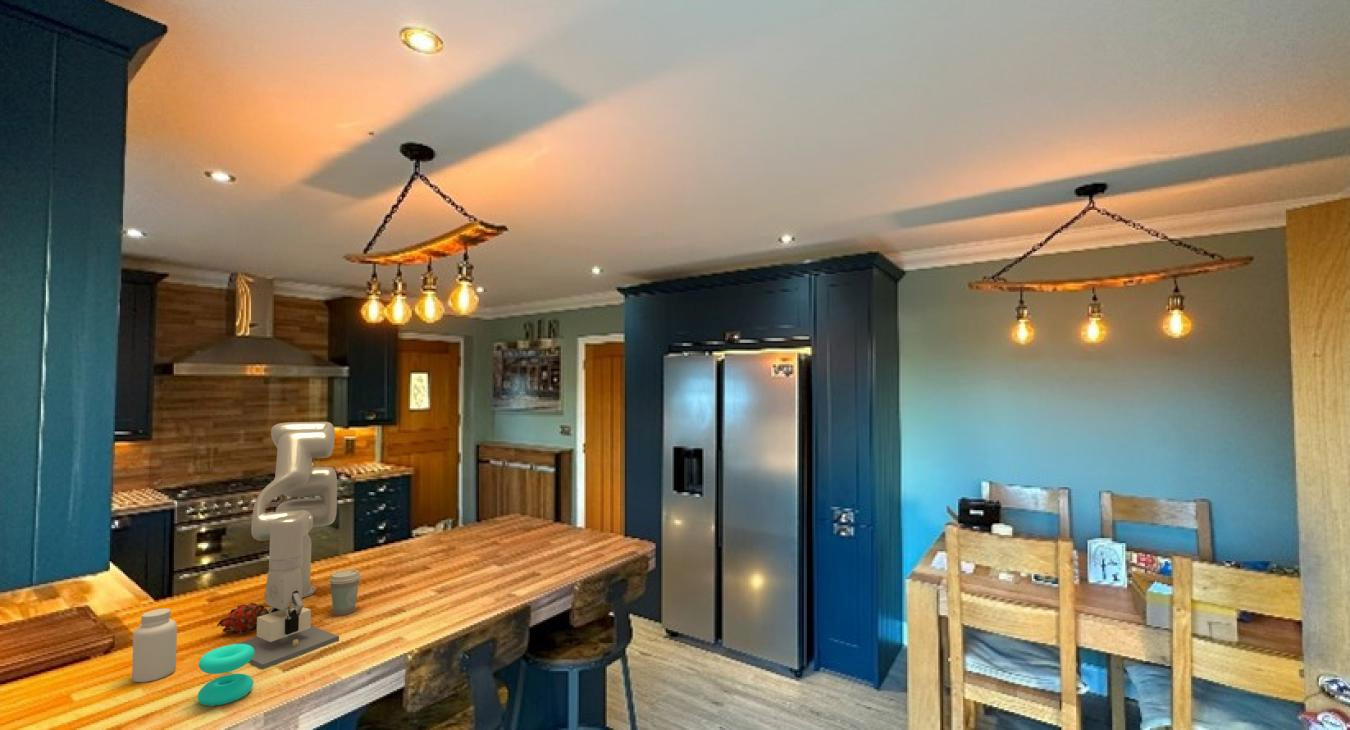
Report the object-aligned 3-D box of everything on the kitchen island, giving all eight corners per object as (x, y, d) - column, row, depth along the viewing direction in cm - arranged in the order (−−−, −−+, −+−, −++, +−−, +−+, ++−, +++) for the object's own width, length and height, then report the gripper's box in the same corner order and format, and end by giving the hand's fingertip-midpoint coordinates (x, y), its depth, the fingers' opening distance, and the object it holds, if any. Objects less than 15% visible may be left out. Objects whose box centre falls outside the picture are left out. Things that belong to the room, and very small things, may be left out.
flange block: (270, 642, 150) (271, 622, 150) (256, 636, 154) (257, 617, 154) (310, 628, 159) (310, 609, 159) (296, 622, 162) (296, 604, 163)
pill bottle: (149, 667, 144) (152, 606, 144) (184, 666, 144) (186, 605, 145) (122, 684, 136) (124, 619, 136) (158, 682, 136) (161, 618, 137)
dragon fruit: (272, 633, 167) (220, 649, 161) (271, 608, 173) (221, 623, 167) (268, 616, 163) (214, 631, 157) (267, 591, 169) (215, 605, 162)
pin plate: (225, 651, 152) (225, 624, 153) (300, 626, 169) (301, 601, 169) (262, 669, 143) (263, 640, 143) (339, 640, 160) (339, 614, 160)
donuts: (259, 638, 138) (247, 656, 128) (258, 681, 137) (246, 702, 128) (207, 646, 134) (191, 665, 125) (206, 690, 133) (190, 712, 124)
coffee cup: (345, 618, 174) (346, 578, 175) (321, 616, 176) (322, 576, 177) (366, 608, 183) (367, 569, 183) (342, 605, 185) (343, 567, 185)
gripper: (253, 561, 158) (251, 627, 157) (288, 572, 149) (286, 642, 149) (283, 554, 164) (281, 618, 164) (318, 564, 156) (316, 631, 155)
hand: (283, 629), depth 156 cm, fingers closed on flange block, 7 cm apart
